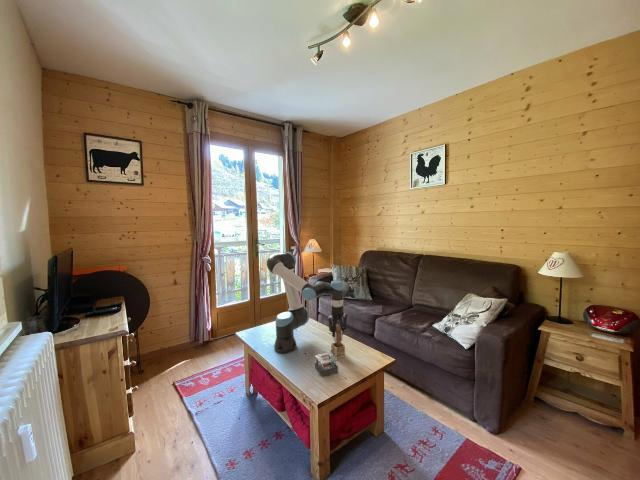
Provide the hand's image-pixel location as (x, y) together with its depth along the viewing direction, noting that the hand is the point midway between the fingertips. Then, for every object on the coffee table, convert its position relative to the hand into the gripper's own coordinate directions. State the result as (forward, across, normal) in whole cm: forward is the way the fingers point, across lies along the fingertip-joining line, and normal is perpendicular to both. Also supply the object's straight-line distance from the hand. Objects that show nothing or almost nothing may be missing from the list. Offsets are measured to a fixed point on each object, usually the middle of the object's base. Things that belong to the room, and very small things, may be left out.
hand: (338, 340), depth 173 cm
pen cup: (+9, 0, 0) cm, 9 cm away
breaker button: (+7, -14, -12) cm, 20 cm away
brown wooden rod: (+8, 0, 0) cm, 8 cm away
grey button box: (+9, -14, -12) cm, 21 cm away
